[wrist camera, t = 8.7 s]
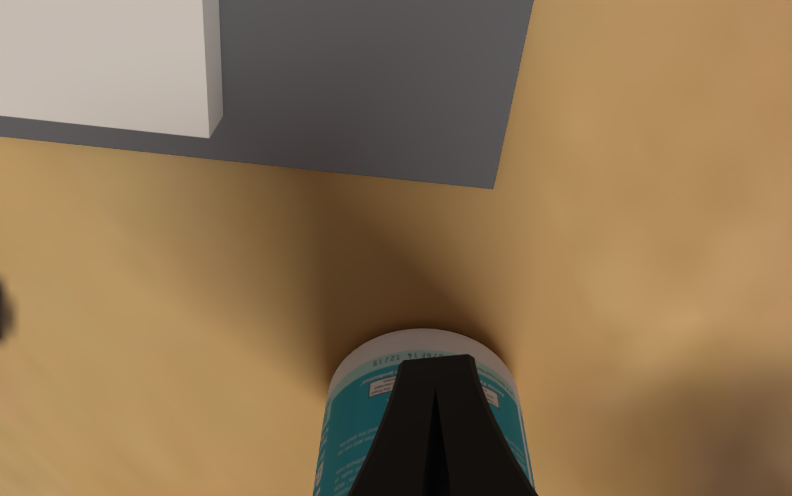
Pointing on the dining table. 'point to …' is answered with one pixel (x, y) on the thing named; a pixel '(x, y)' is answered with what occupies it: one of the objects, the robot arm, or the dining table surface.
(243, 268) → the dining table surface
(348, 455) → the pill bottle
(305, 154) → the mat
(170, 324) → the dining table surface
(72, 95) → the tile
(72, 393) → the dining table surface
